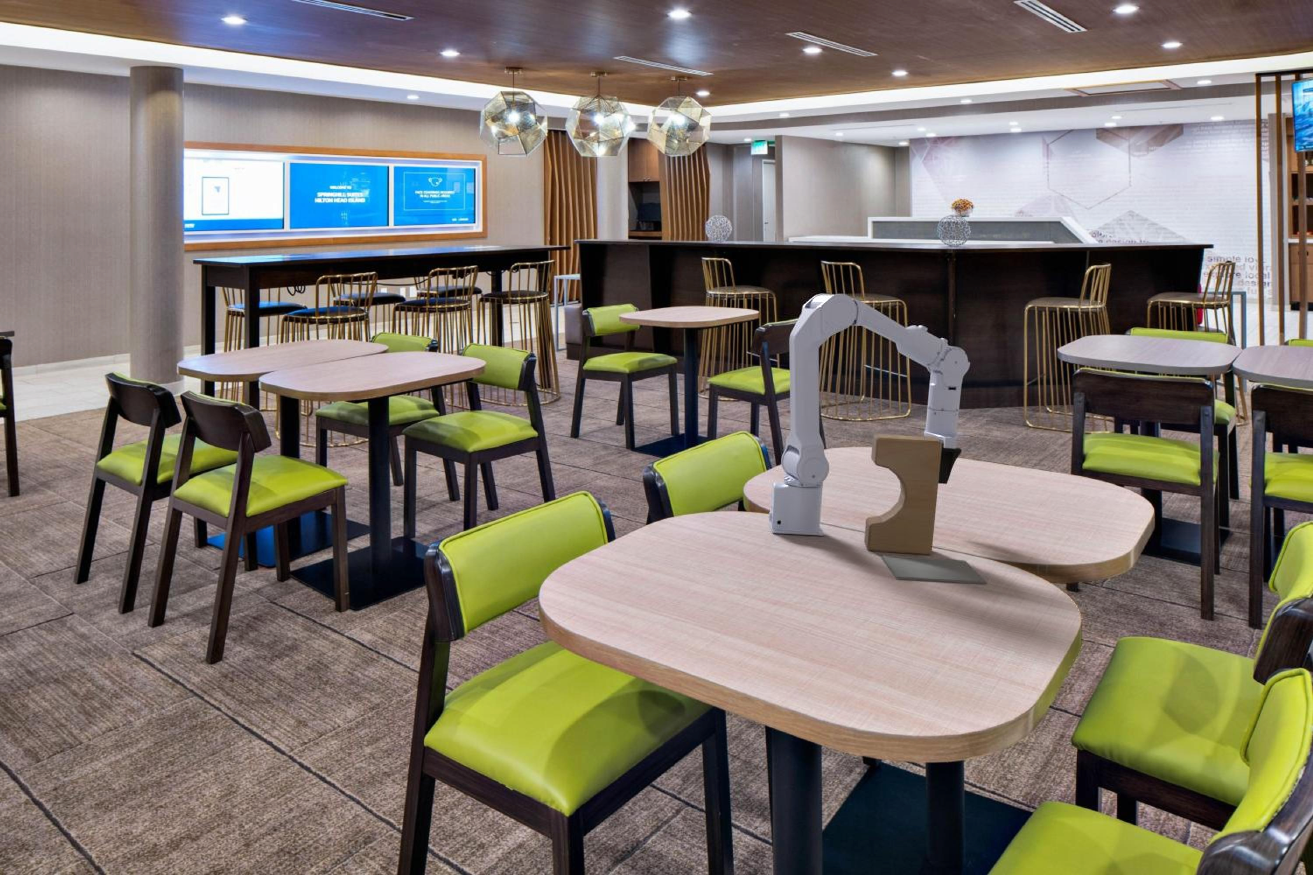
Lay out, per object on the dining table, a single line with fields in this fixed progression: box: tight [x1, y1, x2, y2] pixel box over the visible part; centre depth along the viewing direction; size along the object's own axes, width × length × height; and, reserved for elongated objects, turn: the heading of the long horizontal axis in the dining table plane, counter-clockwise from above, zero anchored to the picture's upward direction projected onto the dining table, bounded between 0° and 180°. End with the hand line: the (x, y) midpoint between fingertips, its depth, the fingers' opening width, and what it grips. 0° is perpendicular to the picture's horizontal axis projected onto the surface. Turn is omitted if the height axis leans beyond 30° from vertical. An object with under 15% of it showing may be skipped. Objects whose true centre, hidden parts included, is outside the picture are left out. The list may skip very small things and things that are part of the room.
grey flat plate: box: [881, 555, 988, 585], centre depth 154 cm, size 14×12×1 cm
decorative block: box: [863, 433, 942, 556], centre depth 165 cm, size 11×6×20 cm, turn 83°
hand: (936, 479), depth 180 cm, fingers open, 6 cm apart
